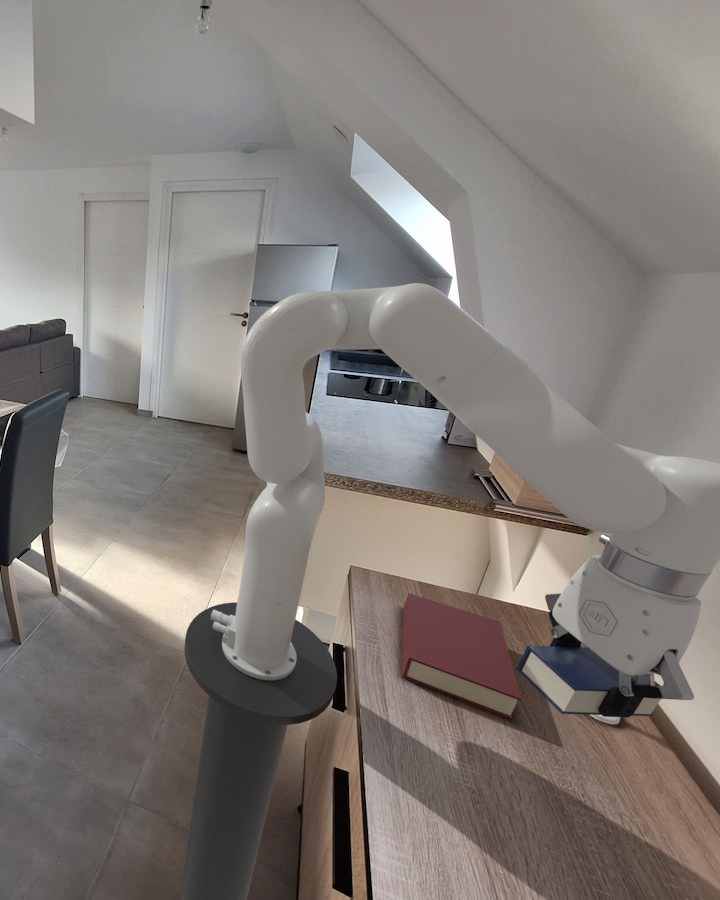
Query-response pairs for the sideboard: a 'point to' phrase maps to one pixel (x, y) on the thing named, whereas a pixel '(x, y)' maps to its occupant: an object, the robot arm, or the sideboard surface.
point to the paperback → (574, 679)
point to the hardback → (458, 655)
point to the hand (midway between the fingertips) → (582, 687)
